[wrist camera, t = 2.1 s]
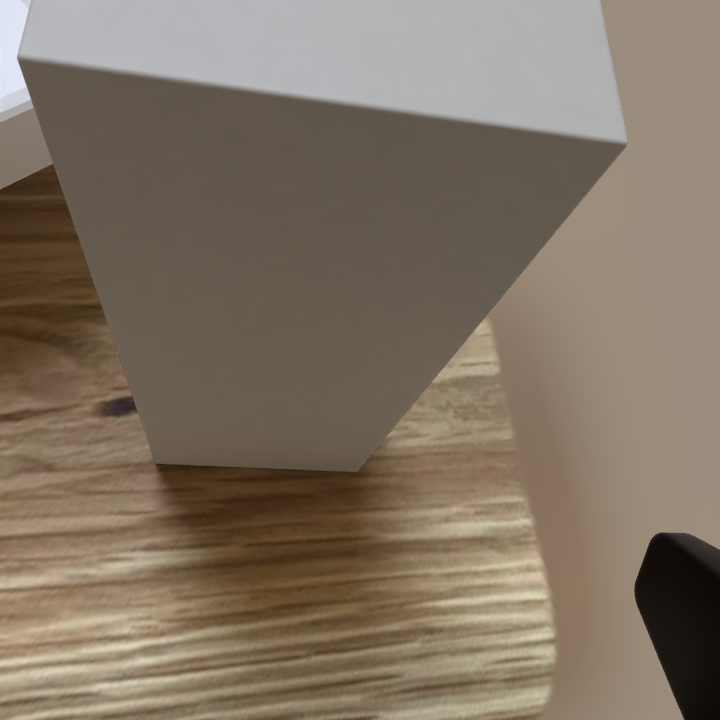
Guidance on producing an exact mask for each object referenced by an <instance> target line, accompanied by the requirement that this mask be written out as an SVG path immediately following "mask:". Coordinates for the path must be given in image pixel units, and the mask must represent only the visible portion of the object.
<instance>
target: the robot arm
mask: <svg viewBox="0 0 720 720" xmlns="http://www.w3.org/2000/svg"><path fill="white" fill-rule="evenodd" d="M634 592H635V600H636V604H637V607H638V609H639V611H640V614H641V616H642V619H643V621H644V624H645V626H646V628H647V631H648V633H649V636H650V638H651V640H652V643H653V646H654V648H655V650H656V653H657V655H658V658H659V660H660V663H661V665H662V668H663V670H664V672H665V675H666V677H667V680H668V682H669V685H670V687H671V690H672V692H673V694H674V697H675V699H676V702H677V704H678V706H679V708H680V710H681V713H682V715H683V717H684V720H720V550H719V549H717V548H715V547H714V546H712V545H710V544H708V543H706V542H704V541H702V540H700V539H698V538H696V537H694V536H692V535H690V534H686V533H659V534H656V535H655V536H654V537H653V538H652V539H651V541H650V543H649V546H648V548H647V551H646V554H645V557H644V560H643V562H642V565H641V568H640V571H639V574H638V576H637V579H636V582H635V589H634Z"/></svg>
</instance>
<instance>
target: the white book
mask: <svg viewBox="0 0 720 720" xmlns="http://www.w3.org/2000/svg"><path fill="white" fill-rule="evenodd" d="M17 60H18V63H19V66H20V69H21V71H22V74H23V77H24V80H25V83H26V86H27V89H28V92H29V95H30V98H31V101H32V104H33V107H34V109H35V112H36V115H37V118H38V121H39V124H40V127H41V130H42V133H43V136H44V139H45V142H46V145H47V148H48V150H49V153H50V156H51V159H52V162H53V165H54V168H55V171H56V174H57V177H58V180H59V183H60V186H61V188H62V191H63V194H64V197H65V200H66V203H67V206H68V209H69V212H70V215H71V218H72V221H73V224H74V227H75V229H76V232H77V235H78V238H79V241H80V244H81V247H82V250H83V253H84V256H85V259H86V262H87V265H88V267H89V270H90V273H91V276H92V279H93V282H94V285H95V288H96V291H97V294H98V297H99V300H100V303H101V306H102V308H103V311H104V314H105V317H106V320H107V323H108V326H109V329H110V332H111V335H112V338H113V341H114V344H115V346H116V349H117V352H118V355H119V358H120V361H121V364H122V367H123V370H124V373H125V376H126V379H127V382H128V385H129V387H130V390H131V393H132V396H133V399H134V402H135V405H136V408H137V411H138V414H139V417H140V420H141V423H142V425H143V428H144V431H145V434H146V437H147V440H148V443H149V446H150V449H151V452H152V455H153V458H154V461H155V463H156V464H174V465H198V466H222V467H246V468H270V469H294V470H318V471H343V472H358V470H359V469H360V468H361V467H362V466H363V464H364V463H365V462H366V461H367V459H368V458H369V457H370V456H371V455H372V453H373V452H374V451H375V450H376V449H377V447H378V446H379V445H380V444H381V443H382V441H383V440H384V439H385V438H386V436H387V435H388V434H389V433H390V432H391V430H392V429H393V428H394V427H395V426H396V424H397V423H398V422H399V421H400V420H401V418H402V417H403V416H404V415H405V414H406V412H407V411H408V410H409V409H410V407H411V406H412V405H413V404H414V403H415V401H416V400H417V399H418V398H419V397H420V395H421V394H422V393H423V392H424V391H425V389H426V388H427V387H428V386H429V385H430V383H431V382H432V381H433V380H434V378H435V377H436V376H437V375H438V374H439V372H440V371H441V370H442V369H443V368H444V366H445V365H446V364H447V363H448V362H449V360H450V359H451V358H452V357H453V355H454V354H455V353H456V352H457V351H458V349H459V348H460V347H461V346H462V345H463V343H464V342H465V341H466V340H467V339H468V337H469V336H470V335H471V334H472V333H473V331H474V330H475V329H476V328H477V326H478V325H479V324H480V323H481V322H482V320H483V319H484V318H485V317H486V316H487V314H488V313H489V312H490V311H491V309H492V308H493V307H494V306H495V305H496V303H497V302H498V301H499V300H500V299H501V297H502V296H503V295H504V294H505V292H506V291H507V290H508V289H509V288H510V286H511V285H512V284H513V283H514V282H515V281H516V279H517V278H518V277H519V276H520V274H521V273H522V272H523V271H524V270H525V268H526V267H527V266H528V265H529V264H530V262H531V261H532V260H533V259H534V257H535V256H536V255H537V254H538V253H539V251H540V250H541V249H542V248H543V247H544V245H545V244H546V243H547V242H548V241H549V239H550V238H551V237H552V236H553V235H554V233H555V232H556V231H557V230H558V228H559V227H560V226H561V225H562V224H563V223H564V221H565V220H566V219H567V218H568V216H569V215H570V214H571V213H572V212H573V210H574V209H575V208H576V207H577V206H578V204H579V203H580V202H581V201H582V200H583V198H584V197H585V196H586V195H587V193H588V192H589V191H590V190H591V189H592V187H593V186H594V185H595V184H596V183H597V181H598V180H599V179H600V178H601V176H602V175H603V174H604V173H605V172H606V171H607V169H608V168H609V167H610V166H611V164H612V163H613V162H614V161H615V160H616V158H617V157H618V156H619V155H620V153H621V152H622V151H623V150H624V149H625V148H626V146H627V143H628V138H627V134H626V129H625V123H624V118H623V114H622V108H621V103H620V99H619V93H618V88H617V83H616V78H615V73H614V68H613V63H612V58H611V54H610V48H609V44H608V38H607V33H606V28H605V23H604V18H603V13H602V8H601V3H600V0H31V3H30V7H29V11H28V15H27V19H26V23H25V27H24V31H23V34H22V38H21V42H20V46H19V50H18V54H17Z"/></svg>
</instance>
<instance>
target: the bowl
mask: <svg viewBox="0 0 720 720" xmlns="http://www.w3.org/2000/svg"><path fill="white" fill-rule="evenodd" d="M30 3H31V0H0V189H2V188H4V187H6V186H8V185H10V184H12V183H14V182H17V181H19V180H21V179H23V178H25V177H27V176H29V175H31V174H33V173H35V172H37V171H39V170H41V169H43V168H46V167H48V166H50V165H52V164H53V162H52V159H51V156H50V153H49V150H48V148H47V145H46V142H45V139H44V136H43V133H42V130H41V127H40V124H39V121H38V118H37V115H36V112H35V109H34V107H33V104H32V101H31V98H30V95H29V92H28V89H27V86H26V83H25V80H24V77H23V74H22V71H21V69H20V66H19V63H18V60H17V54H18V50H19V46H20V42H21V38H22V34H23V31H24V27H25V23H26V19H27V15H28V11H29V7H30Z"/></svg>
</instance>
